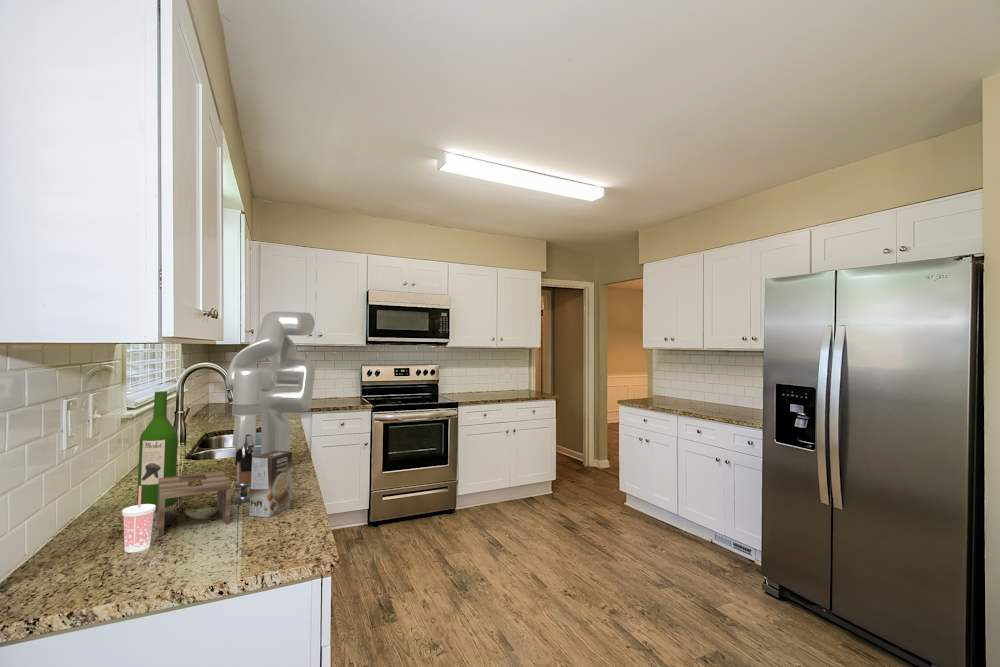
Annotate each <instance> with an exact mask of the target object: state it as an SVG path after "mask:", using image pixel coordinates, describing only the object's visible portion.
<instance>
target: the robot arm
mask: <svg viewBox="0 0 1000 667" xmlns="http://www.w3.org/2000/svg"><path fill="white" fill-rule="evenodd" d="M315 325H316V324H315V318H314V315H312V314H311V313H310V312H303V311H301V312H299V311H269V312H268V313H266V314H265V315H264V316H263V318H262V321H261V323H260V325H259V328H258V329H259V330H258V332H257V335H256V337H255V341H254V342H252V343H250V344H248V345H247V346H246V347H244V348H243V349H241V350H240V351H238V353H236V354H235V356H234V357H233V358H232V359H231V362H230V364H229V367H228V370H227V372H226V375H225V376H226V377H225V385H226V387H227V389H228V390H229V391H232V392H233V393H232V410H231V412H232V413H231V416H233V417H234V424H233V434H232V447H233V448H234V450H235V451H236V452H235V462H234V463H235V464H234V466H236V467H237V461H241V472H245V471H252V457H253V456H255V455H254V454H255V453H254V449H255V448H256V442H257V422H258V421H257V416H260V415H261V416H260V417H261V426H260V428H261V429H260V430H261V432H260V454H264V453H268V452H271V451H289V452H290V444H291V443H290V442H291V423H290V421H289V419H288V416H287V417H286V415H285V414H288V413H289V414H291V413H295V414H296V413H306V412H308V411H309V410H310V409H311V406H312V402H313V394H314V392H313V391H314V384H315V373H316V372H315V371H316V370H315V369H316V368H315V364H314V362H313V361H312V360H310V359H307V358H297V352H298V351H297V350H298V349H297V346H296V344H295V343H294V341H293V340H292V339H291V338H290V337H289V336H303V337H304V336H309V335H310V334H312V333H313V331H314V329H315ZM269 358H270V362H269V367H268V368H266V367H249V366H250V365H252V364H255V363H258V362H261V361H263V360H267V359H269ZM277 384H279V385H280V386H279V385H277ZM283 385H284V386H283ZM288 385H291V386H288ZM293 385H299V386H293ZM293 473H294V468H293V467H292V470H291V475H292V474H293Z"/></svg>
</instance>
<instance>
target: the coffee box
mask: <svg viewBox="0 0 1000 667" xmlns="http://www.w3.org/2000/svg"><path fill="white" fill-rule="evenodd" d="M292 462H293V451H290V450H289V451H271V452H268V453H264V454H261V453H260V454H256V455H254V456H253V457H252V472H251V486H250V501H249V514H248V515H249V516H250V517H260V518H267V519H268V518H270V517H273V516H275V515H278V514H279V513H281V512H284V511H286V510H288V509H290V507H291V491H292V488H291V486H292V474H291V470H292V468H293V466H292V464H293V463H292Z"/></svg>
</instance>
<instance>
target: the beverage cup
mask: <svg viewBox="0 0 1000 667" xmlns="http://www.w3.org/2000/svg"><path fill="white" fill-rule="evenodd" d="M141 487H142V486H139V496H138V505H137V504H136V505H131V506H128V507H125V508H123V509H122V511H121V513H122V517H123V541H124V544H123V545H124V547H123V548H124V552H125V553H139V552H143V551H145V550H147V549H149V548H150V547H151V540H152V539H151V538H152V531H153V522H154V514H155V511H156V510H155V507H156V505H154V504H141Z"/></svg>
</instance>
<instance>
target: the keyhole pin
mask: <svg viewBox="0 0 1000 667" xmlns="http://www.w3.org/2000/svg"><path fill="white" fill-rule="evenodd" d="M251 472H252V471H245V472H241V461H237V466H236V481H235V482H234V487H235V488H237V489H238V488H239V489H240V491H239V492H240V493H239V494H237V495H235V496H234V497H235V498H234V503H237V504H238V503H239V504H243V503H250V493H251V492H250V493H248V488H249V487H250V488H251Z"/></svg>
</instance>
